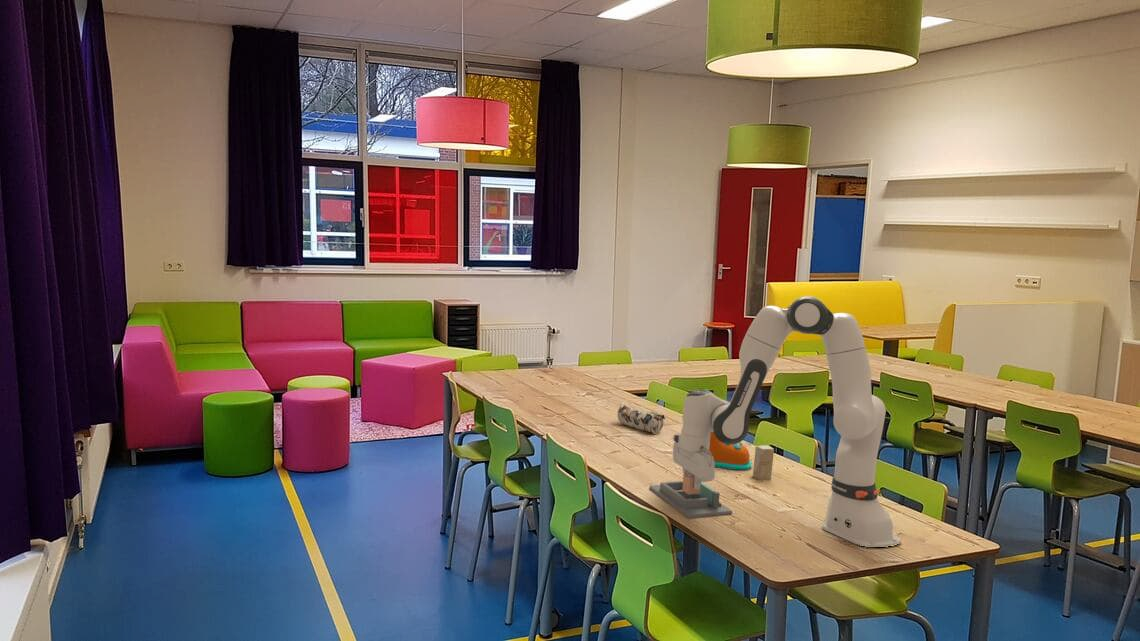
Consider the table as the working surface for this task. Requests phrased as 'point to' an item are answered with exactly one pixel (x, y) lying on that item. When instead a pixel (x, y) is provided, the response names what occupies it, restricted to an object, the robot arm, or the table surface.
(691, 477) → the peach button block
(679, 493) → the housing
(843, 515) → the robot arm
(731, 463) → the toy shoe
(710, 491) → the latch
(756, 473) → the box
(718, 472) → the table surface
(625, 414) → the pencil case
